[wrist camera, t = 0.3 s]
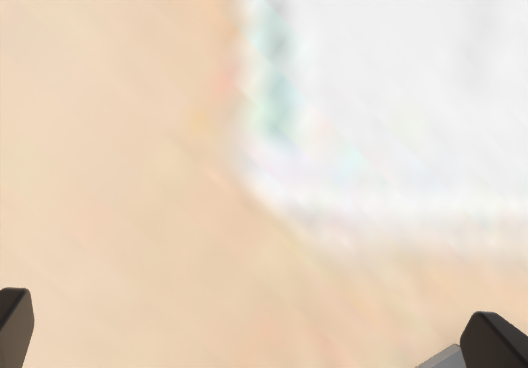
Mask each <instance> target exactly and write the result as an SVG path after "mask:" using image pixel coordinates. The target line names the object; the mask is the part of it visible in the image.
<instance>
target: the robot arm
mask: <svg viewBox="0 0 528 368" xmlns="http://www.w3.org/2000/svg"><path fill="white" fill-rule="evenodd" d="M33 329H34V314H33V307H32V300H31V294H30V292H29V290H28V289H26V288H11V287H7V288H4V289H2V290H0V368H22V366H23V362H24V359H25V356H26V353H27V349H28V346H29V343H30V340H31V336H32V333H33ZM460 348H461V352H462V355H463V359H464V362H465V365H466V368H528V336H527V335H525V334H524V333H523V332H521V331H520V330H519V329H517V328H516V327H514V326H513V325H512V324H510V323H509V322H508V321H506V320H505V319H504V318H502V317H501V316H500V315H498V314H497V313H494V312H484V311H477V312H475V313H474V314H473V315H472V316H471V318H470V320H469V322H468V324H467V326H466V328H465V330H464V331H463V333H462V335H461V338H460Z"/></svg>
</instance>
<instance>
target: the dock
mask: <svg viewBox="0 0 528 368" xmlns="http://www.w3.org/2000/svg"><path fill="white" fill-rule="evenodd" d="M416 368H466V365H465V362H464V359H463V355H462V352H461V348H460V347H459V346H457V345H455V344H453V345H451V346H450V347H448V348H447V349H445V350H443V351H442V352H440V353H438V354H437V355H435V356H434V357H432V358H430V359H429V360H427V361H425V362H424V363H422V364H421V365H419V366H417V367H416Z"/></svg>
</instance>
